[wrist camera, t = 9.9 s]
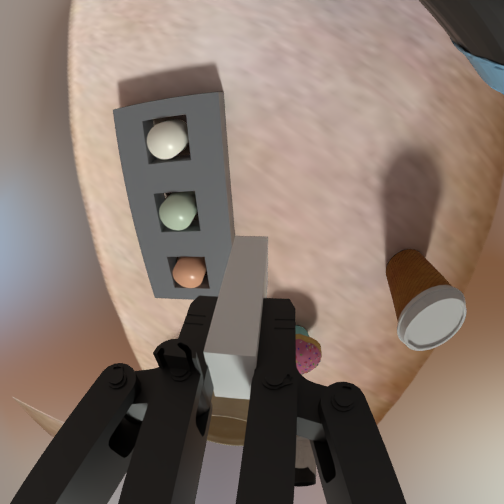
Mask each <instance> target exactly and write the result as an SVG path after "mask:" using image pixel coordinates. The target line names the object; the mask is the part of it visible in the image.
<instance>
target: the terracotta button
mask: <svg viewBox="0 0 504 504" xmlns="http://www.w3.org/2000/svg"><path fill="white" fill-rule="evenodd" d="M206 269H207V268H206V262H205V257H179V259H178V261H177V263H176V265H175V267H174V269H173V277H174V279H175V281H176V282H177V283H178V284H180V285H181V286H183V287H186V288H195V287H197V286H199V285H200V284H201V283H202V280H203V277H204V275H205V272H206Z"/></svg>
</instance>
